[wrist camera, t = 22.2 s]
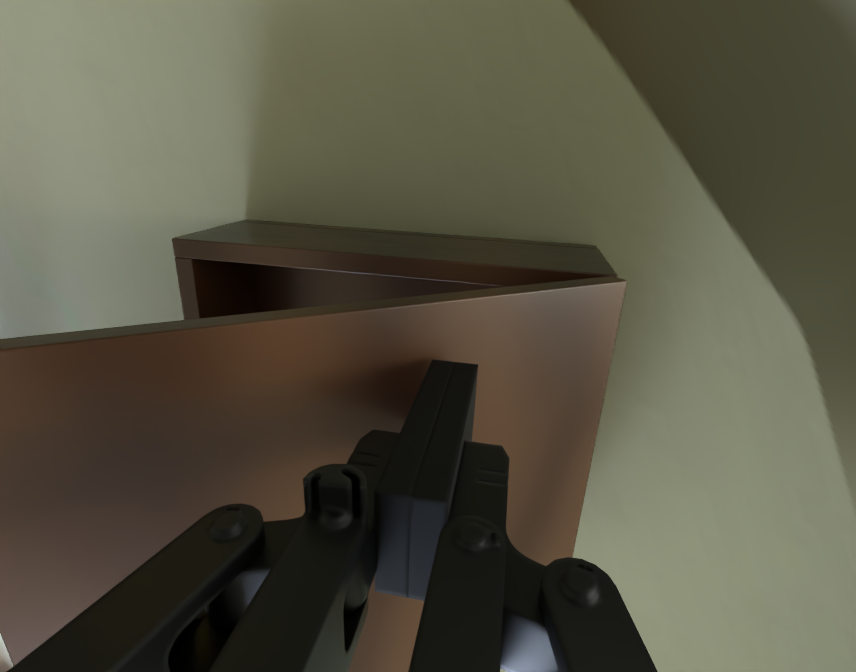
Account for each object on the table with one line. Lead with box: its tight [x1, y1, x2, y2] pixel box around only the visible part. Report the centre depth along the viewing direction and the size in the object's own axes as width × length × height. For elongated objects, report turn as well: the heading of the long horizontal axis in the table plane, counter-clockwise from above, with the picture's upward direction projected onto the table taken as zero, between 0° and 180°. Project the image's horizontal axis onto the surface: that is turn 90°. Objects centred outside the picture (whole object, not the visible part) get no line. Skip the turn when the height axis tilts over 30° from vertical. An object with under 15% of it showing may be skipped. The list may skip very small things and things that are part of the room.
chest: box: [172, 220, 618, 320], centre depth 27 cm, size 20×19×6 cm
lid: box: [0, 276, 627, 672], centre depth 18 cm, size 21×19×1 cm
